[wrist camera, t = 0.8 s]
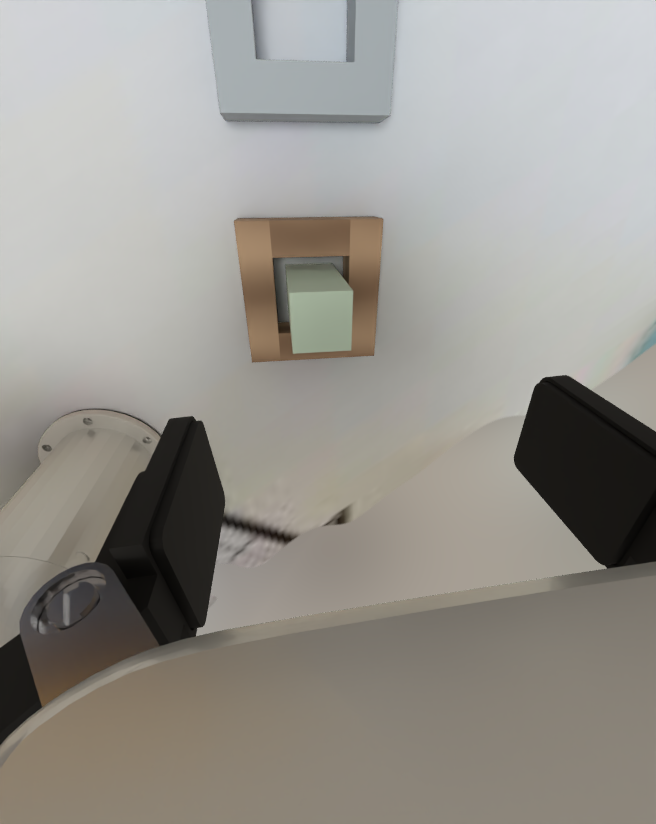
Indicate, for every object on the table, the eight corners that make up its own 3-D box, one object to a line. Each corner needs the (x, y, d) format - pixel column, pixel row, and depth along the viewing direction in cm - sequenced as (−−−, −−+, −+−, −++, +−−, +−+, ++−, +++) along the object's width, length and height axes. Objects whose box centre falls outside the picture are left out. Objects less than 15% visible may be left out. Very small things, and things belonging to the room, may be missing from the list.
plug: (331, 309, 33) (351, 350, 24) (288, 311, 32) (292, 353, 24) (331, 263, 31) (353, 290, 22) (285, 264, 30) (289, 292, 22)
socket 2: (366, 343, 35) (374, 355, 32) (254, 349, 34) (252, 362, 31) (373, 216, 29) (383, 218, 26) (237, 218, 28) (233, 221, 25)
